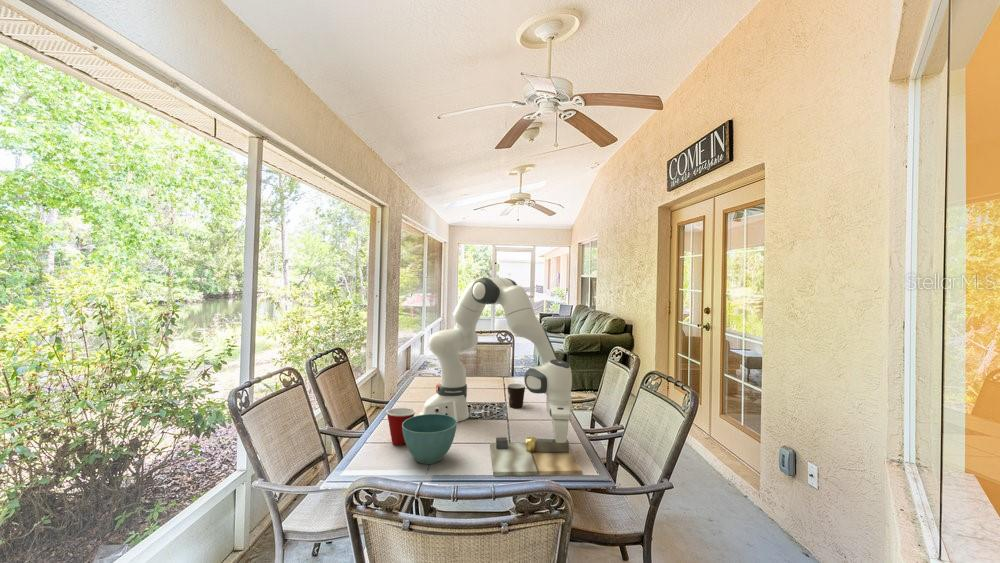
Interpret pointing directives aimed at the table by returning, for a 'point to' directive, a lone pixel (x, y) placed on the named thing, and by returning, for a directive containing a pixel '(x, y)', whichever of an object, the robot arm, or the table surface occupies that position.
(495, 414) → the table surface
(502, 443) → the block
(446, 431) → the plant pot
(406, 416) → the plastic cup
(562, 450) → the latch bar
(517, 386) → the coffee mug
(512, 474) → the door board
